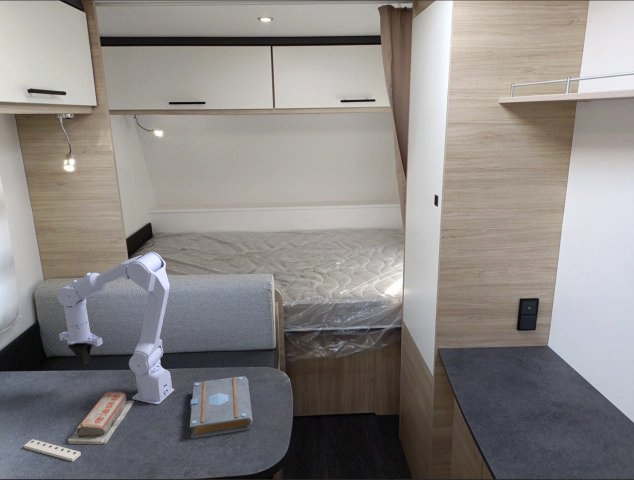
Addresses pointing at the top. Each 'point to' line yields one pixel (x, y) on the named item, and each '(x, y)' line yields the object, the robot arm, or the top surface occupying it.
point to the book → (220, 407)
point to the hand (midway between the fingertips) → (84, 363)
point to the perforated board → (52, 450)
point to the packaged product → (102, 419)
